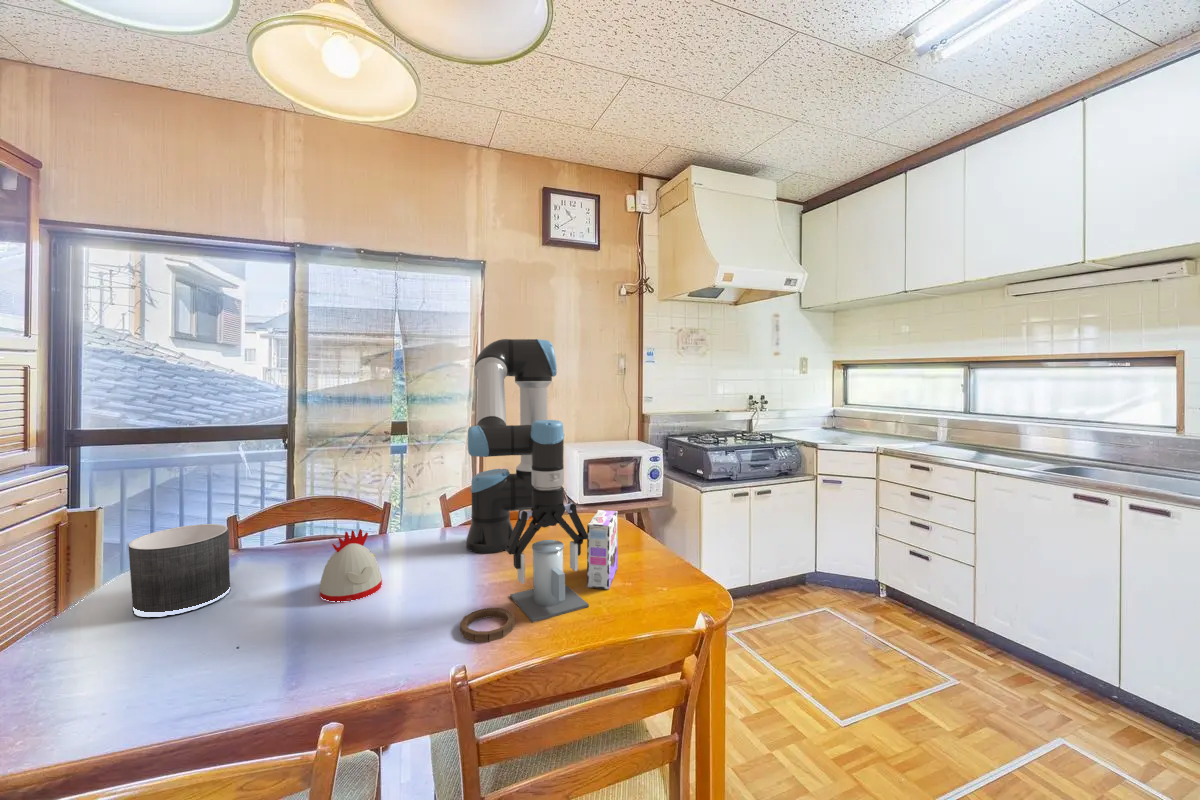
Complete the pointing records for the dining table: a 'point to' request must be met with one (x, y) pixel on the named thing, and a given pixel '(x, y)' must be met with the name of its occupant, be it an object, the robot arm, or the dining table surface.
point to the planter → (179, 567)
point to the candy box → (602, 549)
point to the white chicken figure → (350, 571)
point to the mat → (543, 612)
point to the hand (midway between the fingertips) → (548, 575)
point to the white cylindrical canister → (548, 572)
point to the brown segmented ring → (487, 635)
